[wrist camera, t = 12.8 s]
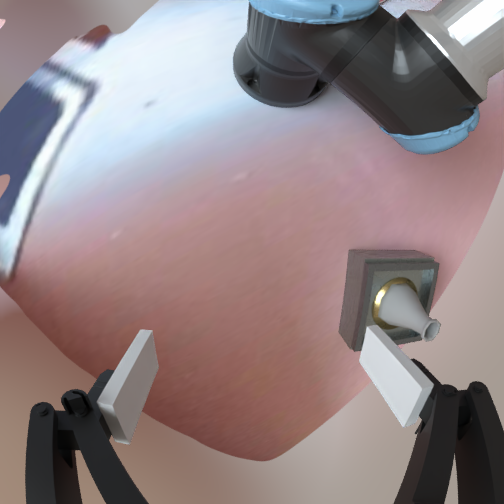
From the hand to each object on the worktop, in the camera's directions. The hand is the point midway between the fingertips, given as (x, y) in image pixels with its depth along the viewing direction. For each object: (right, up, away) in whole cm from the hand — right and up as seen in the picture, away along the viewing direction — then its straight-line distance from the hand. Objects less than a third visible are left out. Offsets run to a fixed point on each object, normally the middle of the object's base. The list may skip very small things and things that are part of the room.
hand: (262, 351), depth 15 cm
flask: (+22, -2, +23) cm, 32 cm away
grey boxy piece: (+22, -1, +29) cm, 36 cm away
